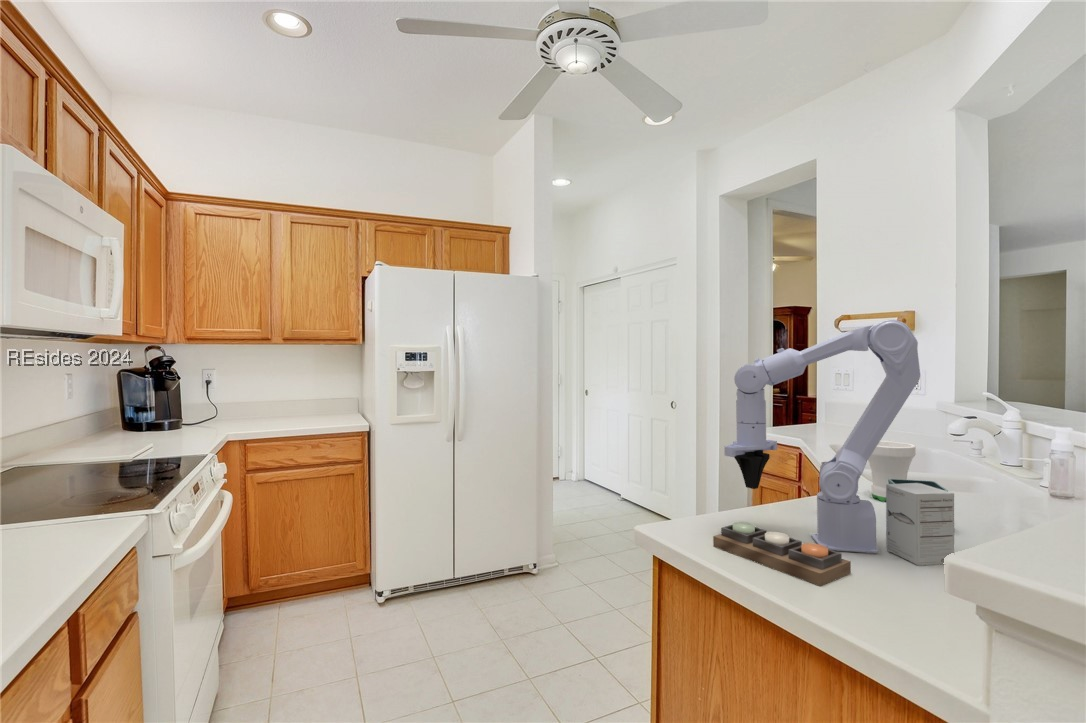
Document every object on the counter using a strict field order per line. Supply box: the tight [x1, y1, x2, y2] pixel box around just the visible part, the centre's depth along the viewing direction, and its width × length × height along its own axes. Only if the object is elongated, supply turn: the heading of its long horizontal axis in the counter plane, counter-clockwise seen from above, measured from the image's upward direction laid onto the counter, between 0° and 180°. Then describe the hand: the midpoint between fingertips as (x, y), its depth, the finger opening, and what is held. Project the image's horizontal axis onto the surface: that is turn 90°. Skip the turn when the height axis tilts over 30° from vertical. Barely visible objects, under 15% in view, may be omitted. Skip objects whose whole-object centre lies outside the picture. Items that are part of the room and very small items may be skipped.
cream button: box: [765, 531, 790, 546], centre depth 92 cm, size 4×4×2 cm
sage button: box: [732, 521, 756, 535], centre depth 98 cm, size 4×4×2 cm
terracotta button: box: [801, 542, 828, 559], centre depth 86 cm, size 4×4×2 cm
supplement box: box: [885, 483, 955, 566], centre depth 92 cm, size 7×7×13 cm
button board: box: [712, 524, 852, 587], centre depth 92 cm, size 21×9×4 cm, turn 31°
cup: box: [867, 440, 917, 502], centre depth 131 cm, size 11×11×14 cm
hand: (751, 487), depth 106 cm, fingers closed
